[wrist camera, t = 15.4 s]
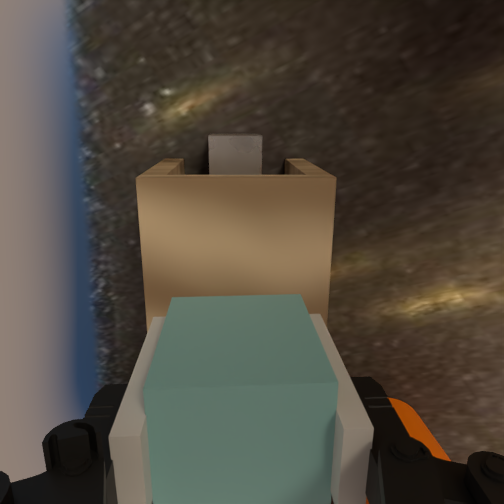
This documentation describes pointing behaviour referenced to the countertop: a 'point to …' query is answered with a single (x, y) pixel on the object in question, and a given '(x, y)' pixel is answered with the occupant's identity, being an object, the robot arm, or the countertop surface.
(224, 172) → the hammer
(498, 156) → the countertop surface
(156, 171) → the tunnel
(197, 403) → the block
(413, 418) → the shaker bottle
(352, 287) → the countertop surface
